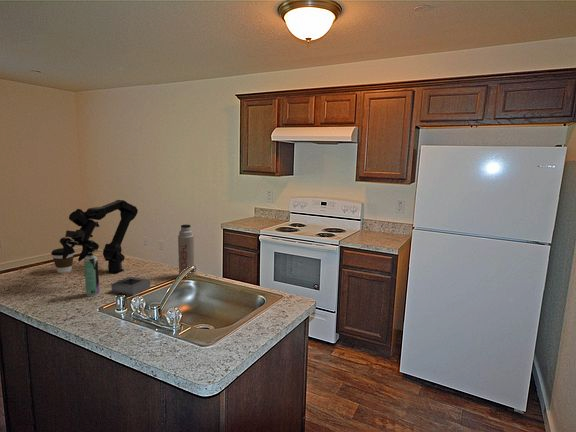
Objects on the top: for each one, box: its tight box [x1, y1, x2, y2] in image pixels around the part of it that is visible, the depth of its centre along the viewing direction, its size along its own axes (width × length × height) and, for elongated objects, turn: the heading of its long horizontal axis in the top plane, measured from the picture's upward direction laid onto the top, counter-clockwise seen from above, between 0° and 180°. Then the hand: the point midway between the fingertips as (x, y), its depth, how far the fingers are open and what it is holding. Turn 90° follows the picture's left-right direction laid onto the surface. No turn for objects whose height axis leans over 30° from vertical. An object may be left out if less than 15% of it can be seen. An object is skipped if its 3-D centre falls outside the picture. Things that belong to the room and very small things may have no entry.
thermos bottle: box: [177, 224, 195, 277], centre depth 194 cm, size 8×8×28 cm
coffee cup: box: [50, 247, 76, 274], centre depth 198 cm, size 11×11×12 cm
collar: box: [111, 276, 151, 297], centre depth 175 cm, size 12×12×4 cm
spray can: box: [83, 252, 101, 298], centre depth 166 cm, size 6×6×20 cm
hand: (71, 259), depth 172 cm, fingers open, 9 cm apart
